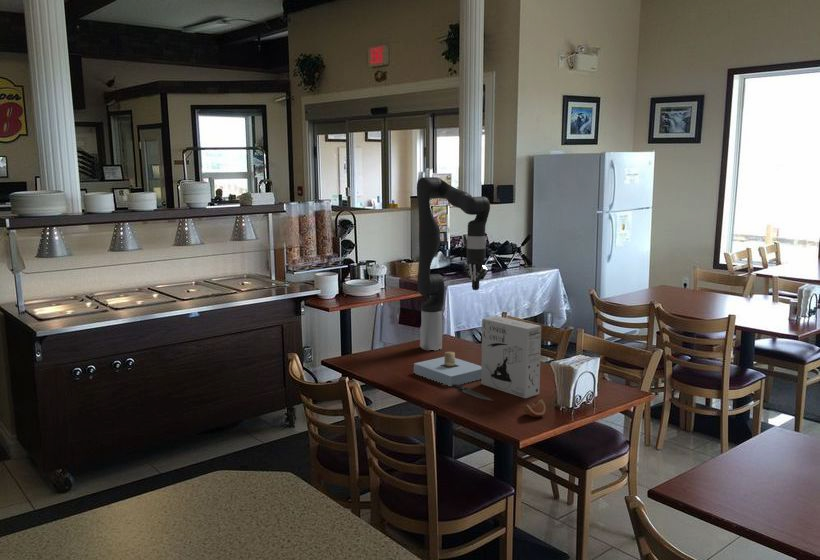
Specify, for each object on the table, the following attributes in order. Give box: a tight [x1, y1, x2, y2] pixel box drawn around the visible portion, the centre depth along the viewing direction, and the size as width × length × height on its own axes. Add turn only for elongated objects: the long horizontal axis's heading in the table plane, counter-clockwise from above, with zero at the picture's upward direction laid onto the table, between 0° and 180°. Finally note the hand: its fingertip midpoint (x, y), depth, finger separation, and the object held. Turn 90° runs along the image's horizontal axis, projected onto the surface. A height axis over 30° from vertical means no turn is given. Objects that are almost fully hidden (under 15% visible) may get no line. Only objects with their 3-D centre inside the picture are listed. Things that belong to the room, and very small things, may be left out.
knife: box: [442, 384, 494, 402], centre depth 249 cm, size 26×1×5 cm
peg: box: [444, 351, 456, 368], centre depth 268 cm, size 4×4×9 cm
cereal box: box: [480, 315, 542, 399], centre depth 250 cm, size 22×8×25 cm, turn 40°
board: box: [413, 356, 481, 387], centre depth 268 cm, size 22×18×4 cm
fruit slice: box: [521, 398, 547, 418], centre depth 225 cm, size 8×7×5 cm
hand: (475, 289), depth 280 cm, fingers closed
